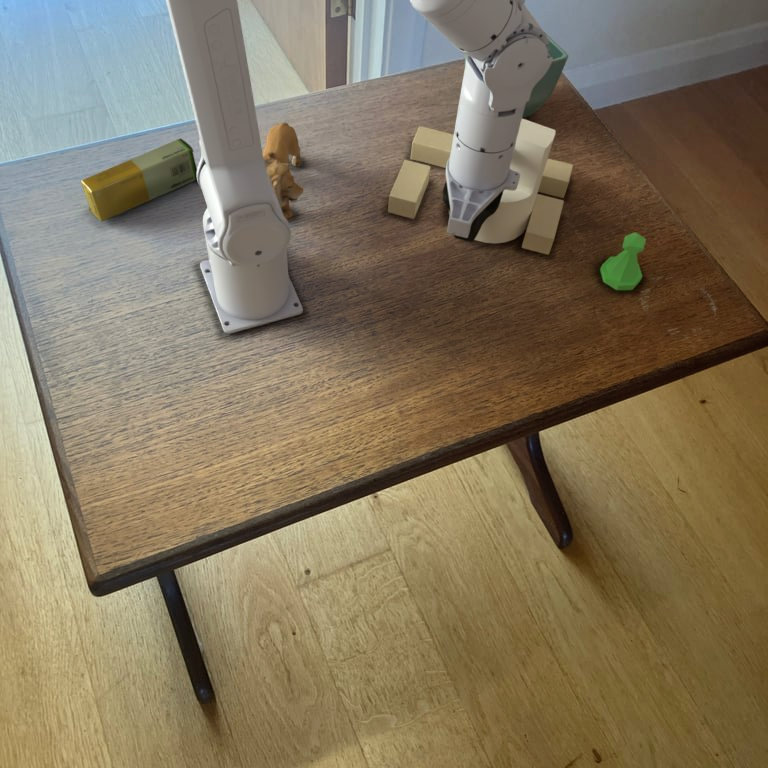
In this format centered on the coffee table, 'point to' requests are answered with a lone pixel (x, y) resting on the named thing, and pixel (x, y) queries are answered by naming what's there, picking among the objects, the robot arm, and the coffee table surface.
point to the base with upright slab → (520, 185)
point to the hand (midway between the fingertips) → (464, 236)
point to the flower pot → (545, 79)
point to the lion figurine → (283, 164)
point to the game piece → (624, 264)
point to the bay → (437, 152)
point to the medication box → (140, 179)
